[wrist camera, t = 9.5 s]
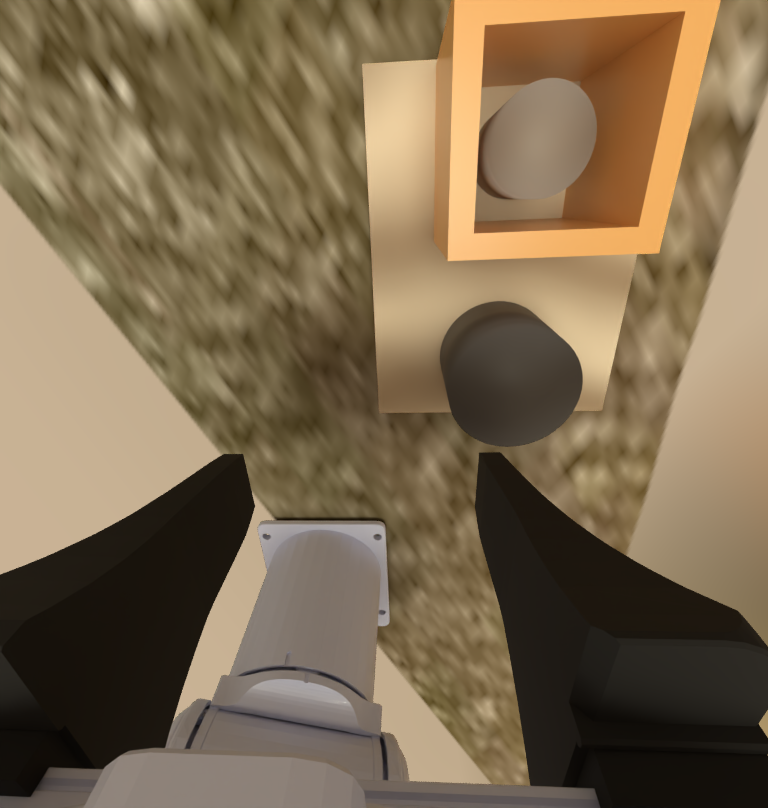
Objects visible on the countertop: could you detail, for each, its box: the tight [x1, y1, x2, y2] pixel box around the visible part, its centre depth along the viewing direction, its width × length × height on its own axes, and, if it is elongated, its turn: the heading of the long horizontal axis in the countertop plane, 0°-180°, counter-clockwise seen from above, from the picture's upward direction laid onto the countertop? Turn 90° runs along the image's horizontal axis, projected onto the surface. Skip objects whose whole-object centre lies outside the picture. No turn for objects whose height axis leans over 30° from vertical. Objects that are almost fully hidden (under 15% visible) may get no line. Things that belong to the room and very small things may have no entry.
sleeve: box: [434, 0, 720, 261], centre depth 13 cm, size 6×6×6 cm
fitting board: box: [362, 60, 637, 447], centre depth 16 cm, size 14×11×5 cm
